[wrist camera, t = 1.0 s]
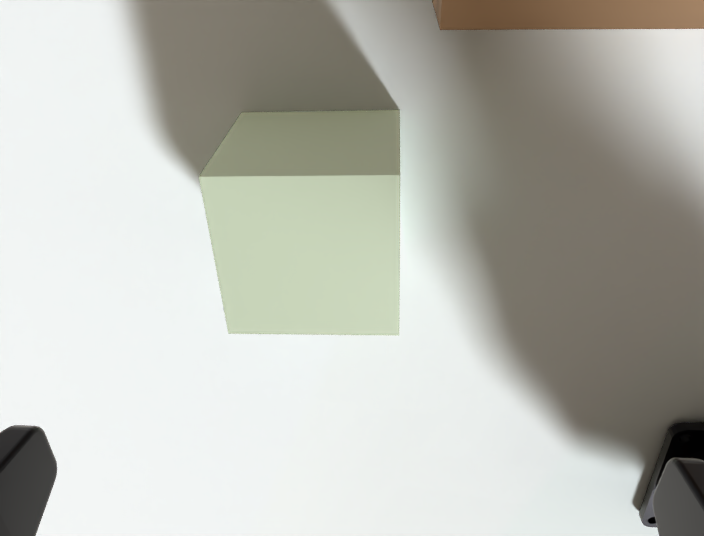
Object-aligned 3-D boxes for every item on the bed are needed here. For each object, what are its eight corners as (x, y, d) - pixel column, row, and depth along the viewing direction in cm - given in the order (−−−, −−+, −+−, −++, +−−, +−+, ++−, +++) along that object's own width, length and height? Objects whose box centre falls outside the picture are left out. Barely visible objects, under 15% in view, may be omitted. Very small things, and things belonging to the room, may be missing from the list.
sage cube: (398, 246, 22) (399, 335, 17) (260, 246, 22) (228, 333, 18) (399, 108, 19) (400, 174, 15) (242, 111, 19) (199, 176, 15)
